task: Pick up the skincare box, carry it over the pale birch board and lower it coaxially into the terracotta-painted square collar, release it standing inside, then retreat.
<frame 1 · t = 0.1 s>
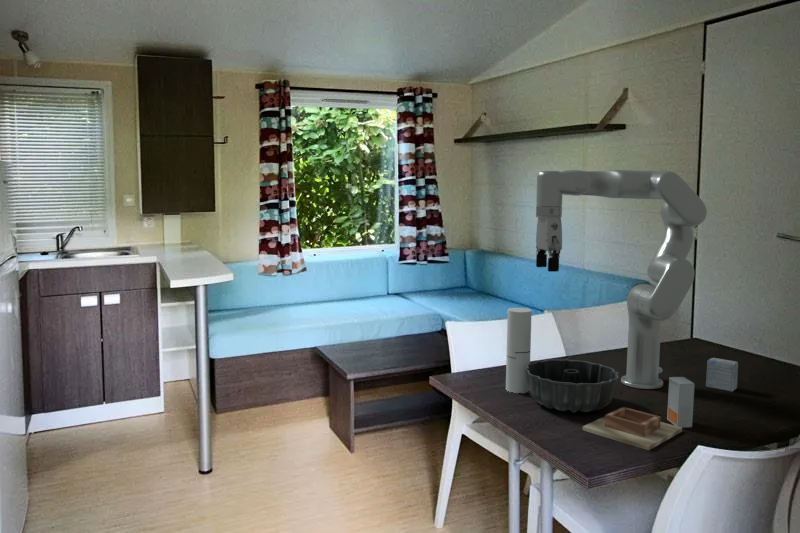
hand: (547, 269, 206), 37 cm above the table, tool pointing down, fingers open, 9 cm apart
collar board: (632, 430, 176), on the table
medicine box: (721, 388, 212), on the table
cylindrical container: (517, 390, 210), on the table
bundt pan: (570, 404, 197), on the table
skincare box: (679, 424, 181), on the table
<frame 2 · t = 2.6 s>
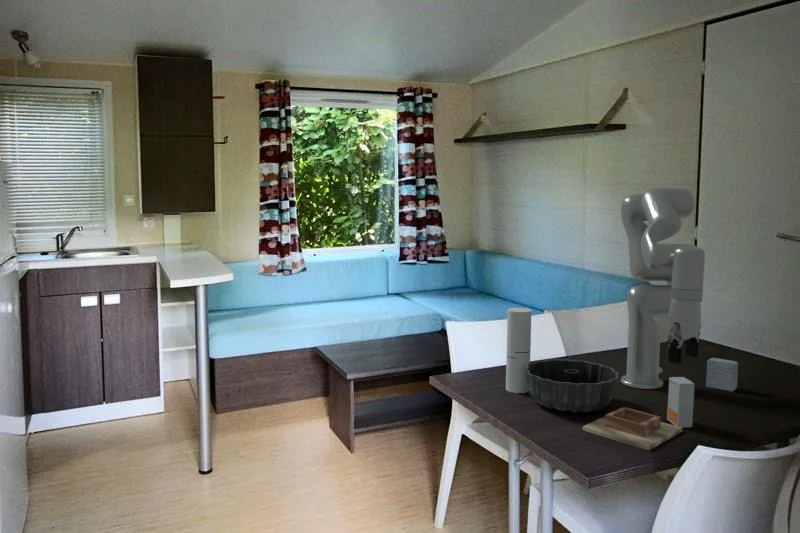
hand: (683, 359, 178), 18 cm above the table, tool pointing down, fingers open, 9 cm apart
nothing on the table moved.
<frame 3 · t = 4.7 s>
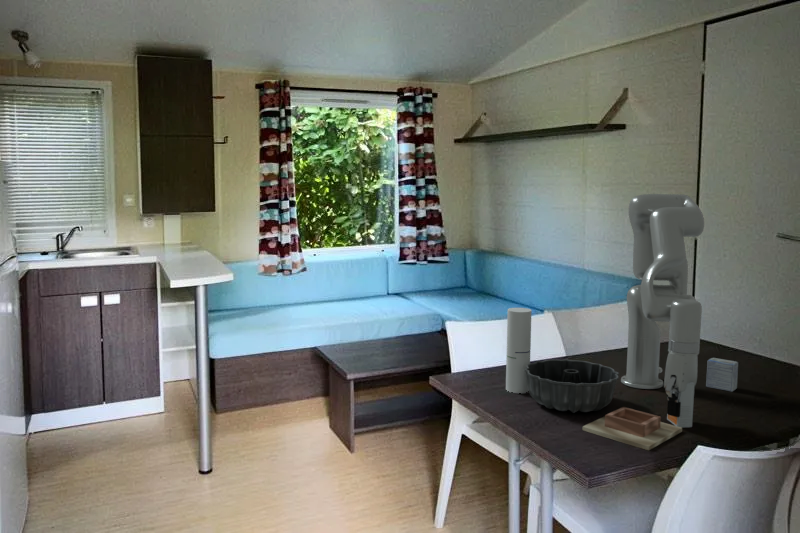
hand: (680, 411, 181), 3 cm above the table, tool pointing down, fingers closed on skincare box, 6 cm apart
skincare box: (679, 424, 181), on the table, touching gripper
everything else where it was.
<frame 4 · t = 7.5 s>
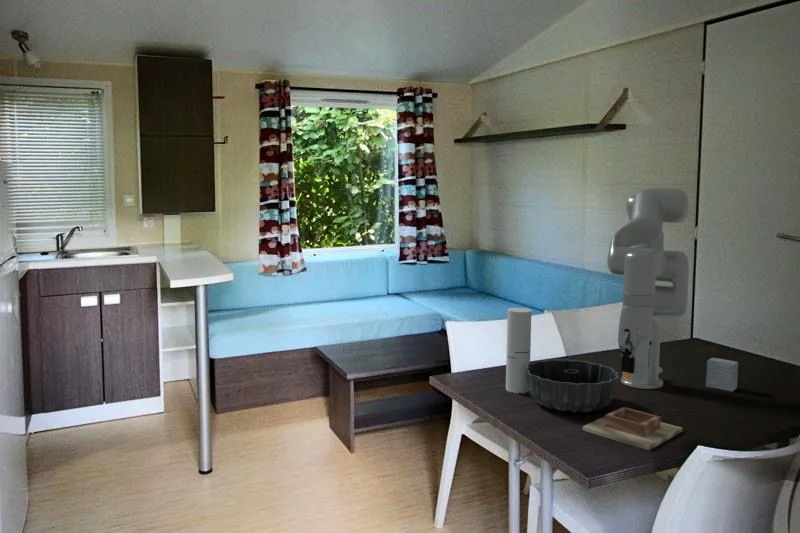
hand: (635, 368, 174), 16 cm above the table, tool pointing down, fingers closed on skincare box, 6 cm apart
skincare box: (634, 381, 174), point 13 cm above the table, touching gripper
everything else where it was.
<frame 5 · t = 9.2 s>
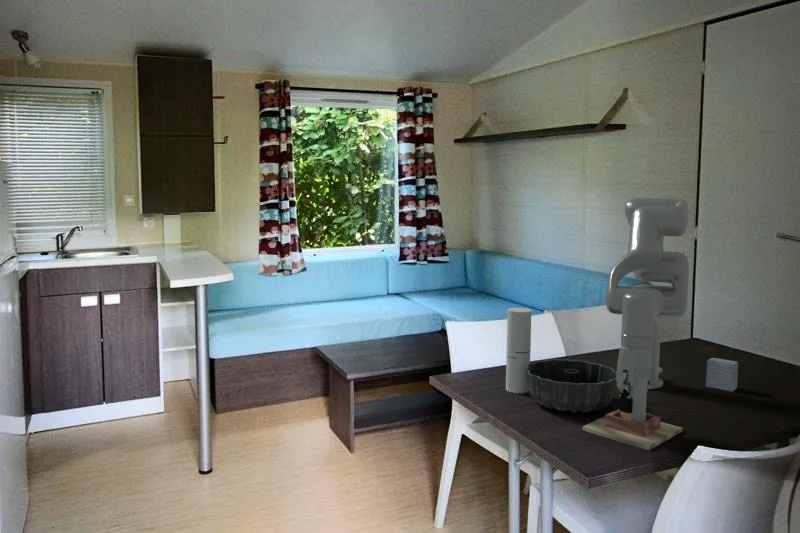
hand: (633, 408, 175), 6 cm above the table, tool pointing down, fingers closed on skincare box, 6 cm apart
skincare box: (632, 421, 175), point 3 cm above the table, touching gripper
everything else where it was.
when the fingers open (6 cm above the table, at t = 10.5 s): skincare box drops 1 cm, resting on collar board.
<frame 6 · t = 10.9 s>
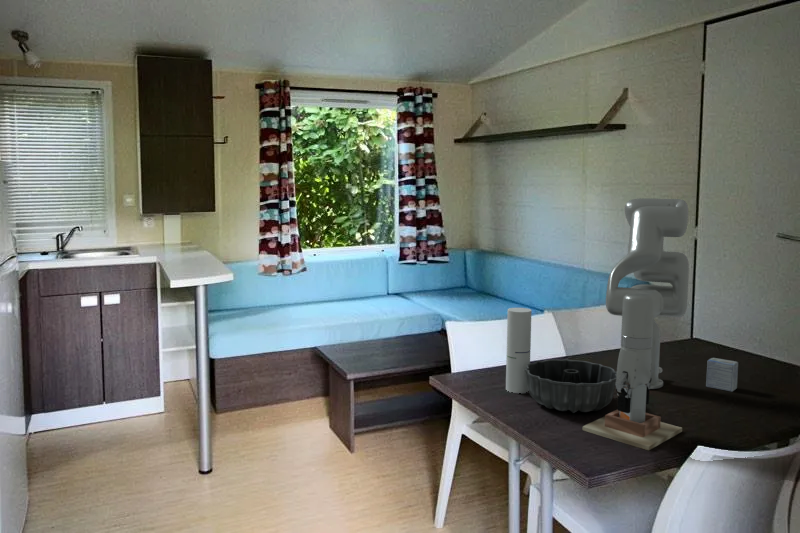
hand: (633, 407, 175), 6 cm above the table, tool pointing down, fingers open, 9 cm apart
skincare box: (631, 428, 176), point 1 cm above the table, touching collar board
everything else where it was.
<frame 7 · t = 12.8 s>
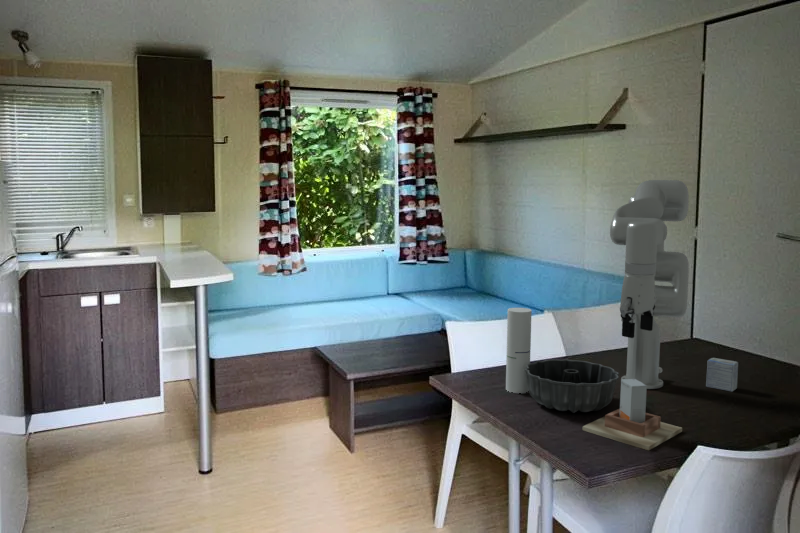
hand: (637, 333, 179), 24 cm above the table, tool pointing down, fingers open, 9 cm apart
nothing on the table moved.
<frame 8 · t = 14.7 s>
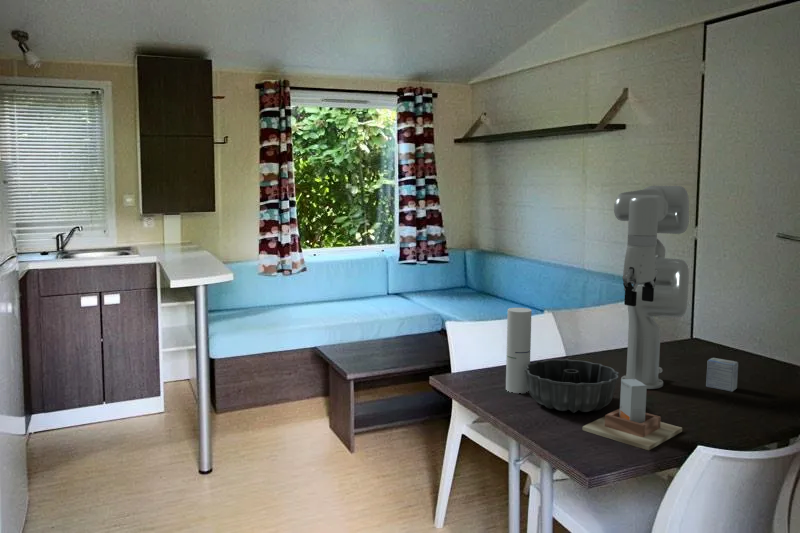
hand: (638, 303, 189), 30 cm above the table, tool pointing down, fingers open, 9 cm apart
nothing on the table moved.
at the end: skincare box inside the target area on the collar board (0.2 cm from its centre), point 0.8 cm above the collar board's base; skincare box tilted 0°; the gripper is holding nothing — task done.
